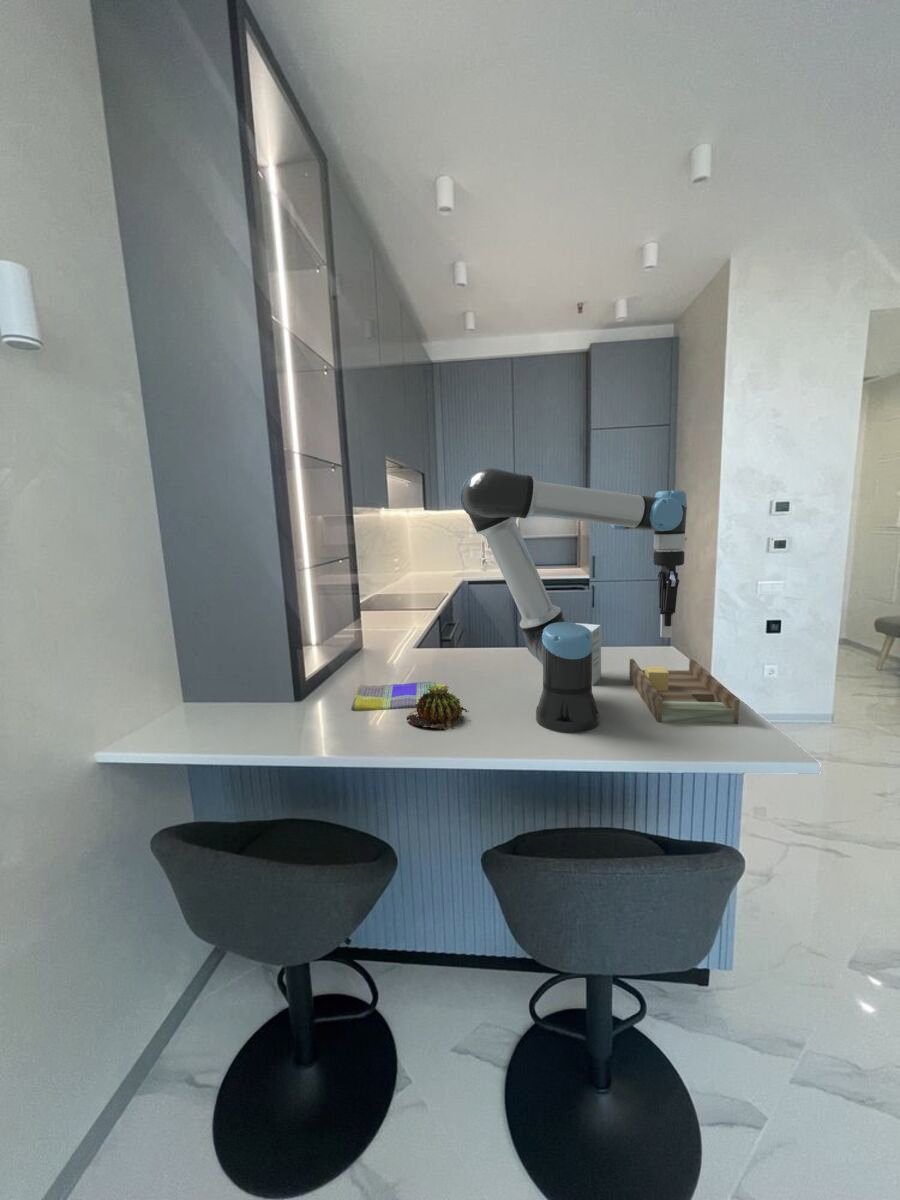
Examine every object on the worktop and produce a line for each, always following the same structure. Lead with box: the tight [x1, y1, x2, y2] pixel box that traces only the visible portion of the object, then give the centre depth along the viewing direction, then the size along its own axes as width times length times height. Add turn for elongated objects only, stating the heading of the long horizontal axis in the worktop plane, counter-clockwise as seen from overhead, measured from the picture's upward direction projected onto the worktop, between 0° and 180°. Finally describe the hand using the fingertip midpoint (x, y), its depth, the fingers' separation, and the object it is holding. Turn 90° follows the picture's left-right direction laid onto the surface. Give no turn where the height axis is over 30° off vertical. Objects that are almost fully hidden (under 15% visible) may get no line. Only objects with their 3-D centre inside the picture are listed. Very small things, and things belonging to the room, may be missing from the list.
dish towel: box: [351, 681, 437, 712], centre depth 144 cm, size 18×24×3 cm
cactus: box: [406, 683, 470, 731], centre depth 128 cm, size 17×16×10 cm
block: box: [644, 666, 669, 691], centre depth 136 cm, size 5×5×5 cm
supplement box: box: [574, 622, 602, 687], centre depth 152 cm, size 10×9×17 cm
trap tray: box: [628, 658, 740, 725], centre depth 134 cm, size 33×18×6 cm, turn 172°
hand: (666, 636), depth 137 cm, fingers closed
